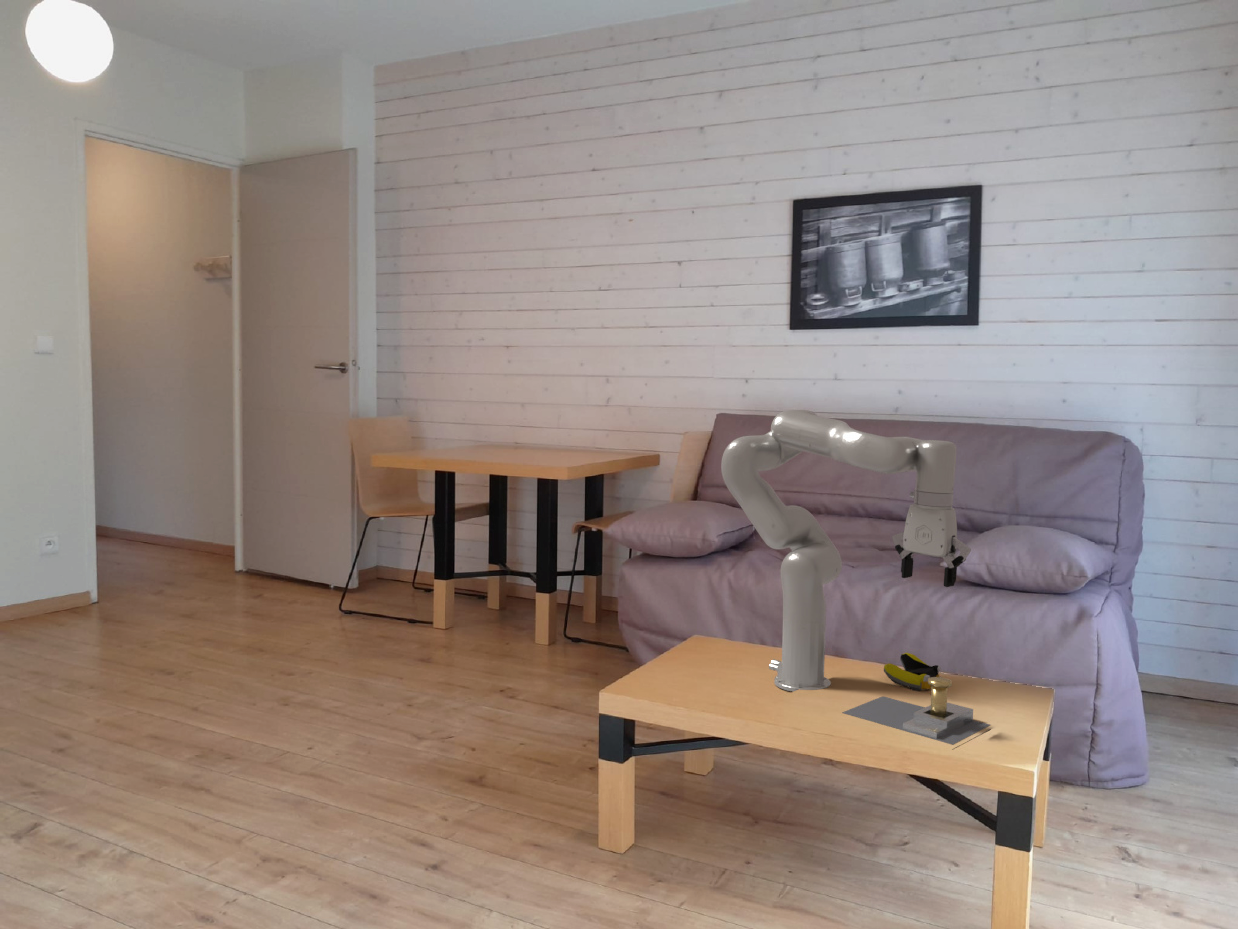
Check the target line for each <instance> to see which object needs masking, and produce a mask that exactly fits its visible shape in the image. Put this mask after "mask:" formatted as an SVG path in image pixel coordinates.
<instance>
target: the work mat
mask: <svg viewBox="0 0 1238 929" xmlns="http://www.w3.org/2000/svg"><path fill="white" fill-rule="evenodd" d="M925 707H926V706H925ZM925 707H924V706H921V705H918V704H914V703H910V702H907V701H902V700H898V699H896V698H895V699H894V698H892V697H887V696H880V697H878V698H877V697H876V698H875V699H873V700H870V701H867V702H864V703H863V704H859V705H858V706H855V707H852V708H850V709H847V710H845V711H843V712H842V713H841V714H844V715H849V716H851V717H855V718H858V719H862V720H865V721H869V722H872V723H876V724H880V725H882V726H884V727H885V726H886V727H888V728H889V727H890V728H893V729H896V730H899V731H903V732H906V733H911V734H914V735H917V736H921V737H924V738H928V739H930V740H934V741H939V742H941V743H945V744H949V745H951V746H952V745H956V744H957V743H959V742H961V741H963V740H965V739H966V738H968V737H971V736H973V735H975V734H976V733H978V732H980V731H982V730H984V729H986V728H988V727H990V726H991V724H989V723H986V722H983V721H982V722H981V721H978V720H975V719H973V721H972V722H970V723H968V724H966V725H963V726H961V727H959V728H957V729H955V730H953V731H951V732H949V733H947V734H945V735H943V736H941V737H939V738H937V739H935V738H932V737H928V736H925V735H921V734H918V733H914V732H911V731H907V730H904V729H903V723H905V722H907V721H909V720H911V719H913V717H914V712H916V711H919V710H921V709H923V708H925ZM989 731H991V728H990V729H987V730H986V731H984V732H983V733H980V734H979V735H977V736H975V737H973V738H970V739H969V740H967V741H966V742H964V743H961V744H960V745H957V746H956V747H954V748H952V749H951V750H955V749H957V748H959V747H961V746H963V745H964V744H966V743H968V742H970V741H972V740H974V739H976V738H977V737H980V736H981V735H983V734H986V733H987V732H989Z"/></svg>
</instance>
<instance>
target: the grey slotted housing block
mask: <svg viewBox="0 0 1238 929" xmlns="http://www.w3.org/2000/svg"><path fill="white" fill-rule="evenodd" d="M930 711H931V704H930V705H928V706H925V708H923V709H921V710H919V711H916V712H914V717H913V719H911V720H909V721H907V722H905V723H903V729H904V730H907V731H911V732H914V733H918V734H921V735H925V736H928V737H932V738H935V739H937V738H939V737H941V736H943V735H945V734H947V733H949V732H951V731H953V730H955V729H957V728H959V727H961V726H963V725H966V724H968V723H970V722H972V721H973V720H974V708H971V707H966V706H962V705H959V704H955V703H951V702H947V713H946V718H940V717H937V716H933V715H930Z"/></svg>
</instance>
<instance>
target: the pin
mask: <svg viewBox="0 0 1238 929" xmlns="http://www.w3.org/2000/svg"><path fill="white" fill-rule="evenodd" d="M928 684H929V685H931V686H932V687H931V689H930V690H931V691H930V692H931V694H930V695H931V696H930V705H931V711H930V715H933V716H937V717H940V718H946V713H947V703H948V688H951V687H952V680H951V679H949V678H946V677H941V676H939V677H930V678H928Z"/></svg>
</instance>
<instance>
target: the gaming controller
mask: <svg viewBox="0 0 1238 929" xmlns="http://www.w3.org/2000/svg"><path fill="white" fill-rule="evenodd" d="M900 662H901V665H902V667H903V668H901V667H899V666H898V665H896V664H893V663H886V664H884V666H883V673H885V675H886V676H887V677H888V679H889V680H890V681H892V682H893V683H894V684H896V685H898V686H904V687H907V688H909V690H911V689H912V691H913V692H915V691H916V692H919V691H922V690H928V689H929V690H931V687H932V686H931V685H929V684H928V678H930V677H940V674H939V673H940V671H941V668H942V666H939V665H929V664H927V663H926V662H924V661H923V660H922V659H920V658H919V657H917V656H916V655H915V654H912V653H910V652H904V653H902V654H901V655H900Z"/></svg>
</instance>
